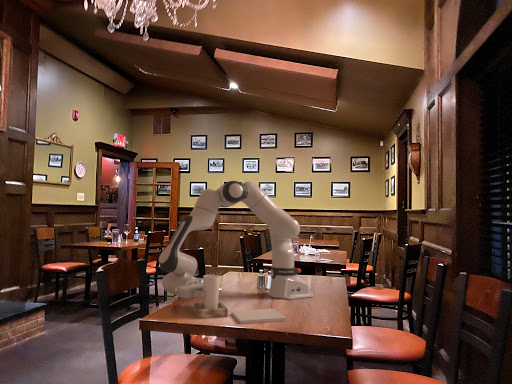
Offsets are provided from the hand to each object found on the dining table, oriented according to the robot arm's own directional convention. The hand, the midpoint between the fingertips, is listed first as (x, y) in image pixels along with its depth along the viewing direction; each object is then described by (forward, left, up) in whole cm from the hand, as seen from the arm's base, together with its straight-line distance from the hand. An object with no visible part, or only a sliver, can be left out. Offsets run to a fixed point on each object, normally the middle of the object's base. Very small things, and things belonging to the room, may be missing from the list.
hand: (212, 292), depth 149 cm
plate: (-17, +8, -9) cm, 20 cm away
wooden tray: (0, -1, -9) cm, 9 cm away
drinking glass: (0, -1, -9) cm, 9 cm away
